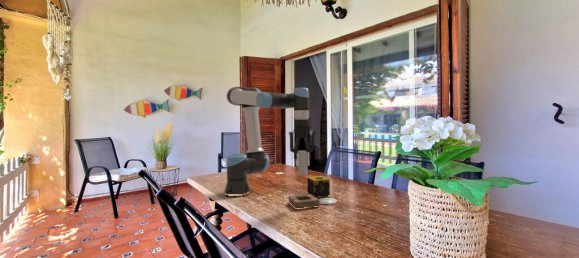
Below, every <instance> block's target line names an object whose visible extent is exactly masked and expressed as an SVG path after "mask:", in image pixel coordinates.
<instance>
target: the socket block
mask: <svg viewBox="0 0 579 258" xmlns="http://www.w3.org/2000/svg"><path fill="white" fill-rule="evenodd" d="M319 199H320V198H316V197H314V196H313V195H311V194H307V193H306V194H297V195H288V203H289V202H290V203H291V204H292V205H293V206H294V207H295V208H304V207H314V206H319V207H320V204H319ZM294 207H293V208H294ZM295 208H294V209H295Z"/></svg>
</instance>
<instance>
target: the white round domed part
mask: <svg viewBox="0 0 579 258" xmlns="http://www.w3.org/2000/svg"><path fill="white" fill-rule="evenodd" d="M318 199H319V203H322V204H334V203H336V202H337V203H338V200H337V199H336V198H334V197H333V198H332V197H321V198H318ZM337 203H336V204H337ZM322 204H321V205H322ZM334 205H335V204H334Z"/></svg>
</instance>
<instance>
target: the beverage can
mask: <svg viewBox="0 0 579 258" xmlns="http://www.w3.org/2000/svg"><path fill="white" fill-rule="evenodd" d="M307 152H308V151H307V150H298V151H297V153H299V166H297V174H298V176H303V177H304V176H307V175H308V173H309V172H308V165H307Z"/></svg>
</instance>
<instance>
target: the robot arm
mask: <svg viewBox="0 0 579 258" xmlns="http://www.w3.org/2000/svg"><path fill="white" fill-rule="evenodd" d="M226 99H227V101H228V103H229V104H231V105H232V106H233V105H234V106H239V107H241V110H242V111H243V112H244V118H245V119H244V120H245V132H246V141H247V151H245V153H242V152H241V153H235V154H231V155H229V156H228V157H227V158H226V163H225V165H226V184H225V188H224V191H223V192H225V193H226V194H244V193H247V192H249V191H250V192H251V187H250V185H249V181H248V175H253V174H257V173H258V174H260V173H262V172H263V173H264V172H266V171H267V170H268V168H269V167H270V157H269V155H268V154H267V153H265V150H264V148H263V147H262V146H263V145H262V138H261V136H262V135H261V128H260V118H259V117H260V116H259V115H260V114H259V110H260V109H261V108H262V109H270V108H271V109H285V110H286V109H293V113H294V114H293V118H294V121H293V126H294V127H293V130H292V131H289V132H288V135H289V152H292V153H293V159H294V160H295V167H298V166H299V153H298V151H299V145H300V140H301V139H302V138H303V140H304V143H305V147H306V148H305V149H306V151H307V167H308V166H310V159H311V158H312V155H311V154H312V152H313V151H315V135H316V131H315V130H311V129H310V119H309V118H310V94H309V88H307V87H295V88H294V89H293V92H291V93H284V92H283V93H281V92H267V91H266V92H265V91H261V90H260V89H259V88H257V87H245V86H234V87H231V88H229V89H228V91H227V92H226ZM308 135H309V136H308ZM294 136H295V137H294ZM309 137H310V139H309ZM294 138H295V140H294ZM294 142H295V143H294ZM225 193H224V194H225Z"/></svg>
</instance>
